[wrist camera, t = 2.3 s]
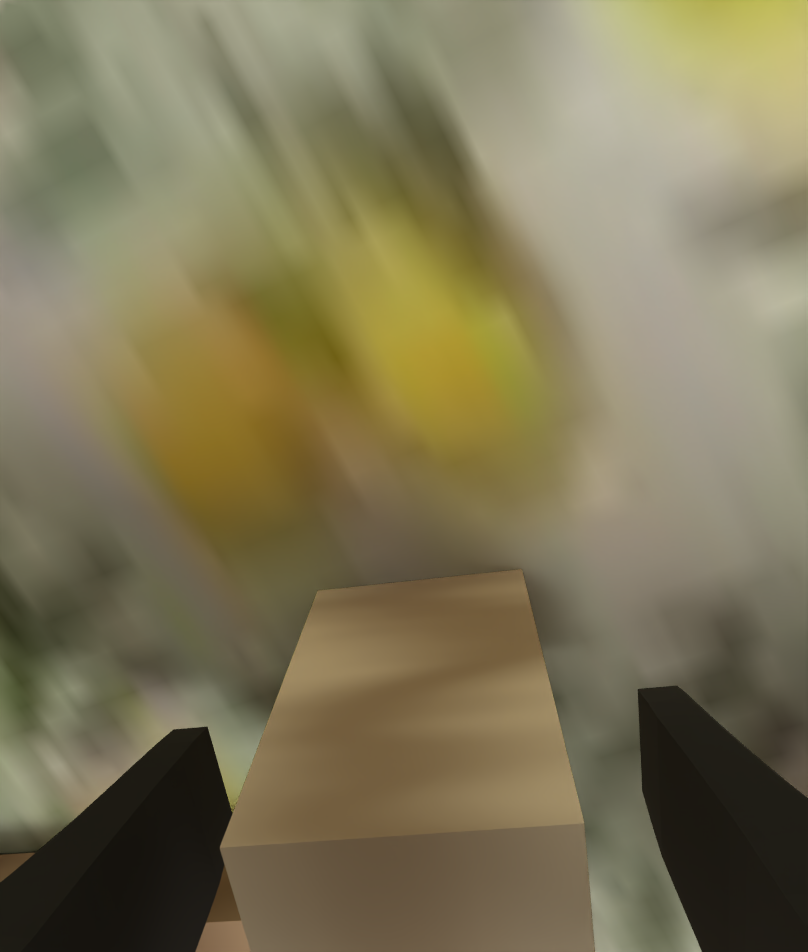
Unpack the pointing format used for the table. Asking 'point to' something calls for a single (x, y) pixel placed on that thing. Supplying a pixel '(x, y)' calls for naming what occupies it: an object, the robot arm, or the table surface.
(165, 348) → the table surface
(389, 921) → the block
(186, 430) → the table surface
